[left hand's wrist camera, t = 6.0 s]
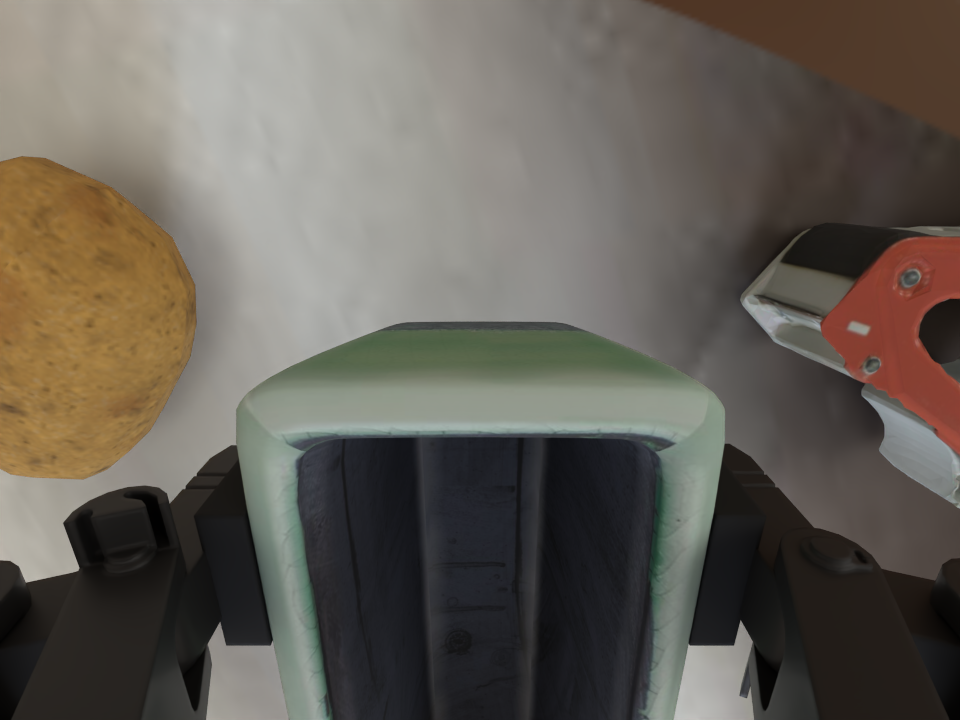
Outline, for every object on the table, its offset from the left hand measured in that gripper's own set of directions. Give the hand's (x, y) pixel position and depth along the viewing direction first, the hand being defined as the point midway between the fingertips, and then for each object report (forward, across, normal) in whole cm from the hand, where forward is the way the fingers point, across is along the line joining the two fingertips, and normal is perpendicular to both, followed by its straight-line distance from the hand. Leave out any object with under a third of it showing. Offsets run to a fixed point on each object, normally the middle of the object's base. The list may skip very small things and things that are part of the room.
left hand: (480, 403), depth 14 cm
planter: (+1, 0, -10) cm, 10 cm away
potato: (+10, -16, 0) cm, 19 cm away
